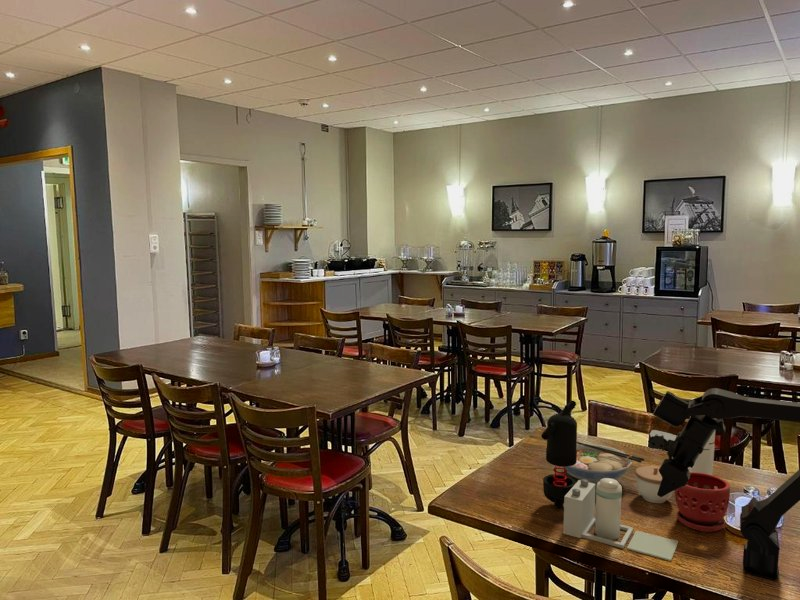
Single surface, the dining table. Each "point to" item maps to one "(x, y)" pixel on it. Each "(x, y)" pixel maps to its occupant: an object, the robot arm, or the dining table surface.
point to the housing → (585, 514)
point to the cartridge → (608, 509)
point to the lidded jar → (650, 484)
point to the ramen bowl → (600, 463)
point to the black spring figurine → (560, 453)
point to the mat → (653, 545)
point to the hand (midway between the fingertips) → (662, 488)
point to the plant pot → (703, 502)
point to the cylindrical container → (705, 458)
